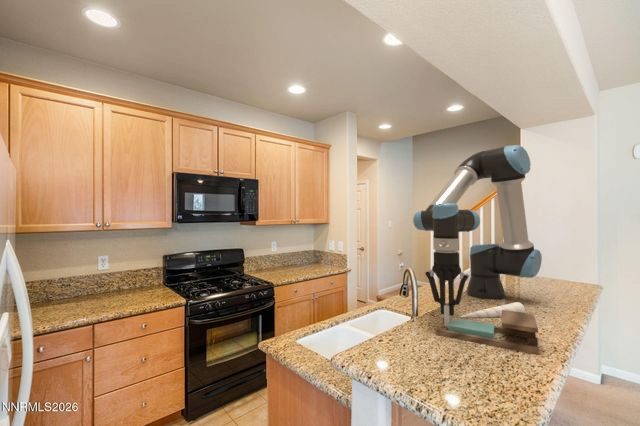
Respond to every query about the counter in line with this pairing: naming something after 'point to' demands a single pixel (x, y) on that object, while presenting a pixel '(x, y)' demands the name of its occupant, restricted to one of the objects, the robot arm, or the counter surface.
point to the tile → (472, 328)
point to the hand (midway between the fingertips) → (447, 325)
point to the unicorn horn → (496, 311)
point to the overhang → (506, 332)
